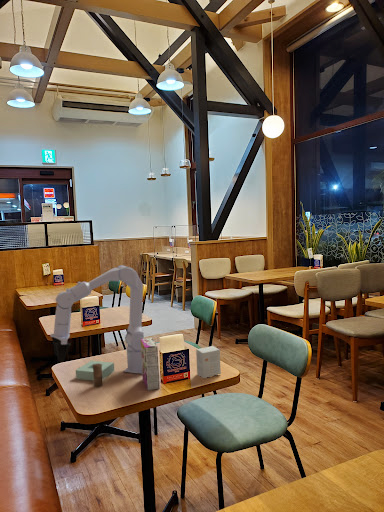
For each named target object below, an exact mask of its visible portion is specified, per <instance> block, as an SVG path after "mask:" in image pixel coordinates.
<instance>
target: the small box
mask: <svg viewBox="0 0 384 512" xmlns="http://www.w3.org/2000/svg"><path fill="white" fill-rule="evenodd" d="M195 352H196V353H195V354H196V375H197V374H198V375H197V376H199V377H200V376H201V377H200V378H202V379H203V378H206V379H208V378H207V377H210V378H212V377H211V376H214V375H218V374H221V349H220V348H217V347H216V346H214V345H211V346H206V347H200V348H197V349H196V351H195ZM218 376H219V375H218ZM214 377H215V376H214Z"/></svg>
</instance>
